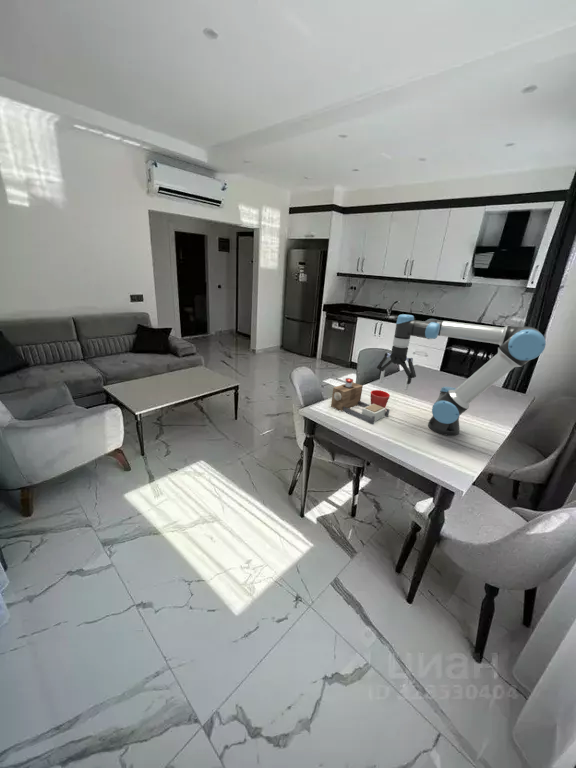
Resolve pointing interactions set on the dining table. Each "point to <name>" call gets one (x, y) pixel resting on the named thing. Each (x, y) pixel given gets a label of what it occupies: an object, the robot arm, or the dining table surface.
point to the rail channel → (361, 416)
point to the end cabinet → (346, 396)
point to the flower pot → (379, 398)
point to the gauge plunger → (348, 383)
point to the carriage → (374, 411)
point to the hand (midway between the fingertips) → (393, 385)
